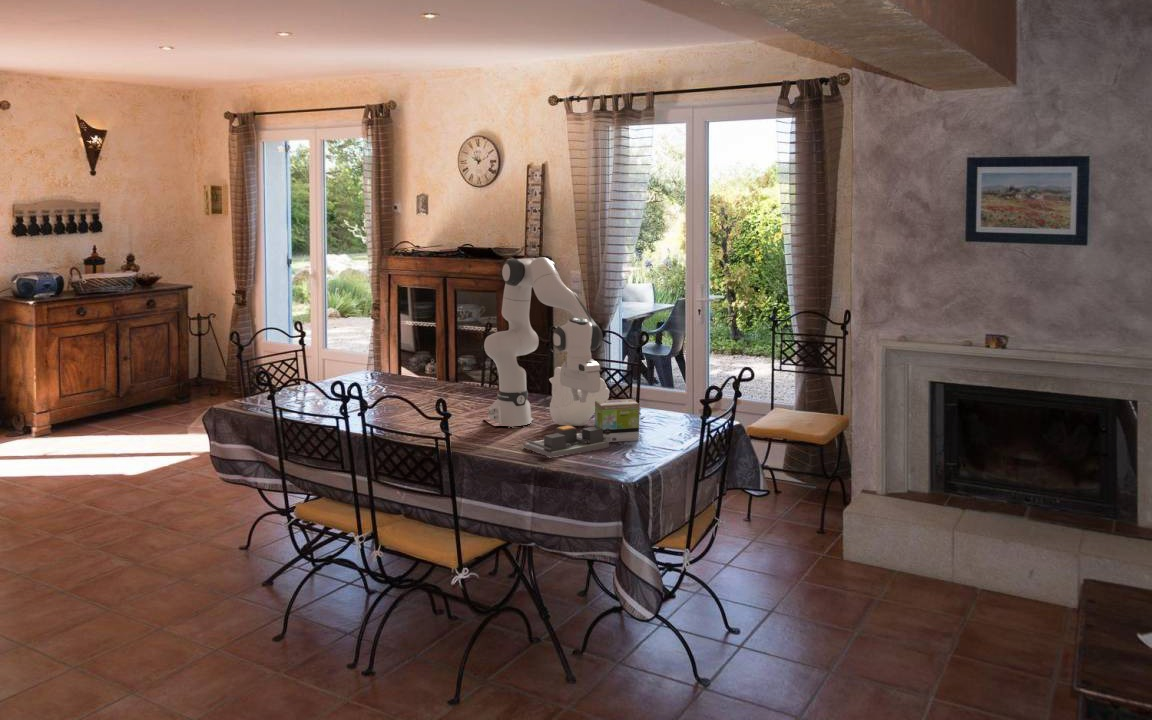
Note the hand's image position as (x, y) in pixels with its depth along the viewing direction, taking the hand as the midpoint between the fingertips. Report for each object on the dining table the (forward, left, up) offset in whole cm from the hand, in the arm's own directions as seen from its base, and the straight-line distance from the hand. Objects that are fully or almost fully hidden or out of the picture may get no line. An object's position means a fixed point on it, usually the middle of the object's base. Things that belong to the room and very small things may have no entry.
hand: (579, 401), depth 360 cm
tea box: (-8, +23, -19) cm, 31 cm away
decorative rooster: (-36, +26, -19) cm, 48 cm away
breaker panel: (-9, 0, -19) cm, 21 cm away
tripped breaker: (-9, 0, -17) cm, 19 cm away
